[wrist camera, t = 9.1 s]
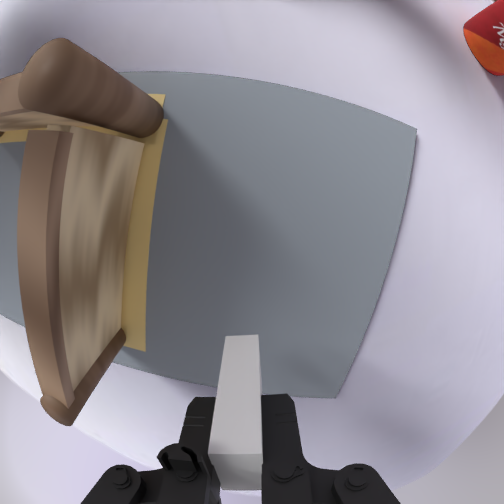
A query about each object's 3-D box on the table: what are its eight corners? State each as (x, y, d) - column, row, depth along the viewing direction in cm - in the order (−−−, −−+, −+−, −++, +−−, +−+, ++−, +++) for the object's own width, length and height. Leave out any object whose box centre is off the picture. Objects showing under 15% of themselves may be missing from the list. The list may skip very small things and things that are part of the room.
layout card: (-3, 308, 18) (-7, 311, 17) (1, 94, 12) (-3, 93, 12) (334, 394, 19) (335, 398, 19) (413, 129, 14) (417, 128, 14)
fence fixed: (-7, 140, 13) (-87, 143, 4) (-2, 112, 12) (-80, 106, 4) (159, 139, 14) (59, 107, 5) (167, 99, 13) (84, 31, 5)
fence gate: (120, 140, 13) (23, 121, 6) (150, 144, 14) (62, 121, 6) (101, 341, 17) (45, 415, 9) (126, 349, 17) (76, 431, 9)
